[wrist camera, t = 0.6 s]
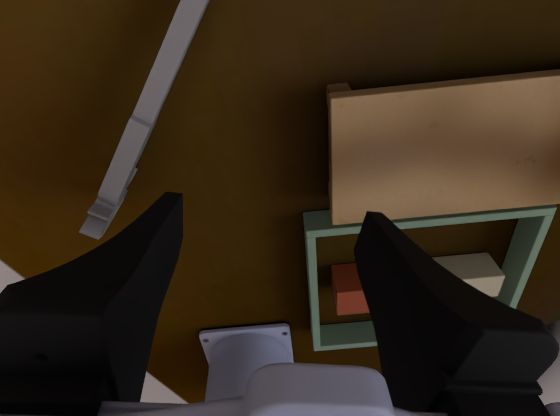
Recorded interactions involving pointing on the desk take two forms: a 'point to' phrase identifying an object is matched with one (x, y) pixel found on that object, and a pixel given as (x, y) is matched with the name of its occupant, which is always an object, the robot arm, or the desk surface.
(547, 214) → the rectangular frame
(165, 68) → the caliper
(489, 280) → the white bar red tip
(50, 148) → the desk surface
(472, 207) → the l-shaped wooden board
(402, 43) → the desk surface
